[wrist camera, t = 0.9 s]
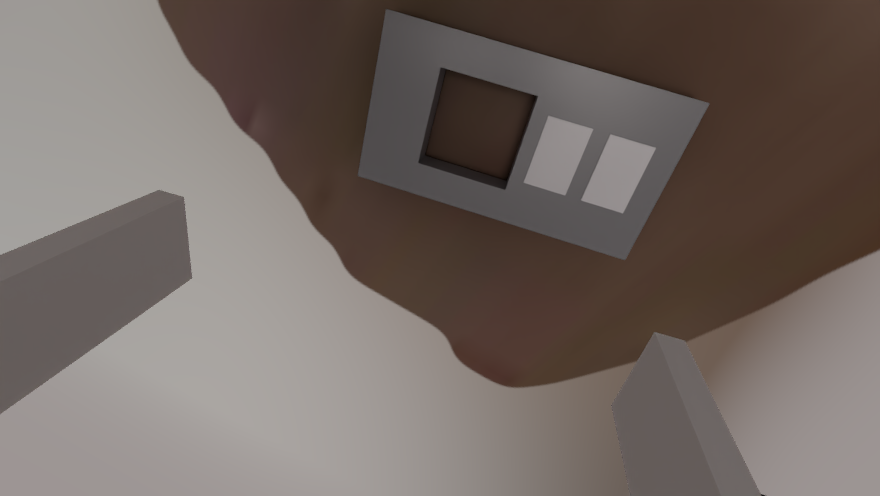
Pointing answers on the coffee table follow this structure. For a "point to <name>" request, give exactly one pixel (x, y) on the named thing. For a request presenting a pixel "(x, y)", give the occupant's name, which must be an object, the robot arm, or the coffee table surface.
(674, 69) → the coffee table surface
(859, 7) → the coffee table surface
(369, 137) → the power strip
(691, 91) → the coffee table surface
